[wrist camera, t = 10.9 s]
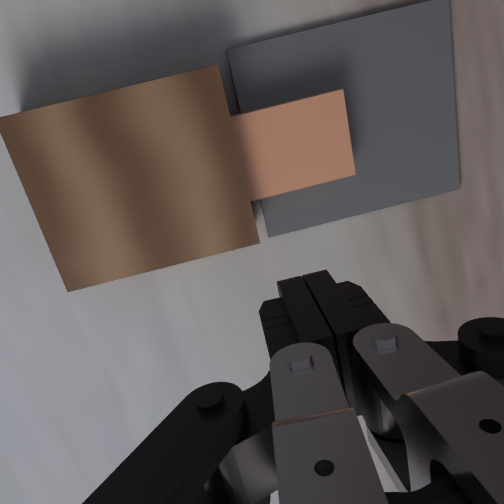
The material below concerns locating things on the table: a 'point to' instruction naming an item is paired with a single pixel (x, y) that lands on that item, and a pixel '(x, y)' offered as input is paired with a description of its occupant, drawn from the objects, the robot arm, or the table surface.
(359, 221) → the table surface
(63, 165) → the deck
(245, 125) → the salmon pink rectangular block
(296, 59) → the mat
